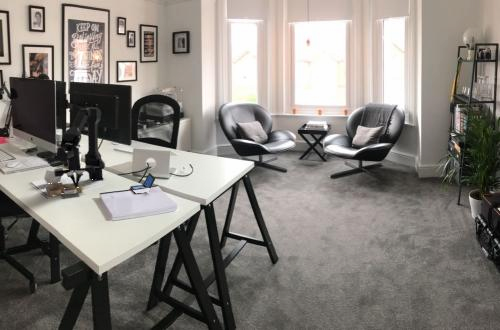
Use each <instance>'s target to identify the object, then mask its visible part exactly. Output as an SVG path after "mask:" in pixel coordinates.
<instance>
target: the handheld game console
mask: <svg viewBox="0 0 500 330" xmlns="http://www.w3.org/2000/svg"><path fill="white" fill-rule="evenodd" d="M155 180H156V178H155V176H153V174H152V173H150V172H149V173H148V174H147V176H146V178H145V179H144V182H143V183H142V184H139V185H131V186H130V187H129V188H130V189H137V188H142V187H149V188H150V189H151V188H152V187H153V185H154V182H155Z"/></svg>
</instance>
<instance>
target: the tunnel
mask: <svg viewBox="0 0 500 330" xmlns="http://www.w3.org/2000/svg"><path fill="white" fill-rule="evenodd" d="M62 184H63V186H64V188H66V189H65V190H68V189H67V188H73V189H75V191H76V192H75V193H78V194H82V193H83V187H82V186H80V182H79V183H78V186H77V187H79V188H77V187H75V185H74V183H73V182H72V183H62ZM46 191H47V192H46ZM45 192H46V195H47V197H48V198H50V197H54V196H53V195H59V196H61V195H63V194H61V190H54V191H50V189H49V185H48V184H47V185H46V184H45Z"/></svg>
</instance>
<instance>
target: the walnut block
mask: <svg viewBox="0 0 500 330" xmlns="http://www.w3.org/2000/svg"><path fill="white" fill-rule="evenodd" d="M63 184H64V183H63V182H60V183H52V184H49V185H48V186H49V189H50V191H54V190H61V193H64V194H65V190H64V186H63Z"/></svg>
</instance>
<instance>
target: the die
mask: <svg viewBox="0 0 500 330" xmlns="http://www.w3.org/2000/svg"><path fill="white" fill-rule="evenodd" d="M55 169H56V168H54V169H52V168H51V169H47V170H45V175H44V179H43V180H44V181H45V182H46V183H47V184H48V183H50V184H51V183H58V182H60V183H61V179H62V177H63V176H59V177H55V175H54V170H55Z"/></svg>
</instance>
